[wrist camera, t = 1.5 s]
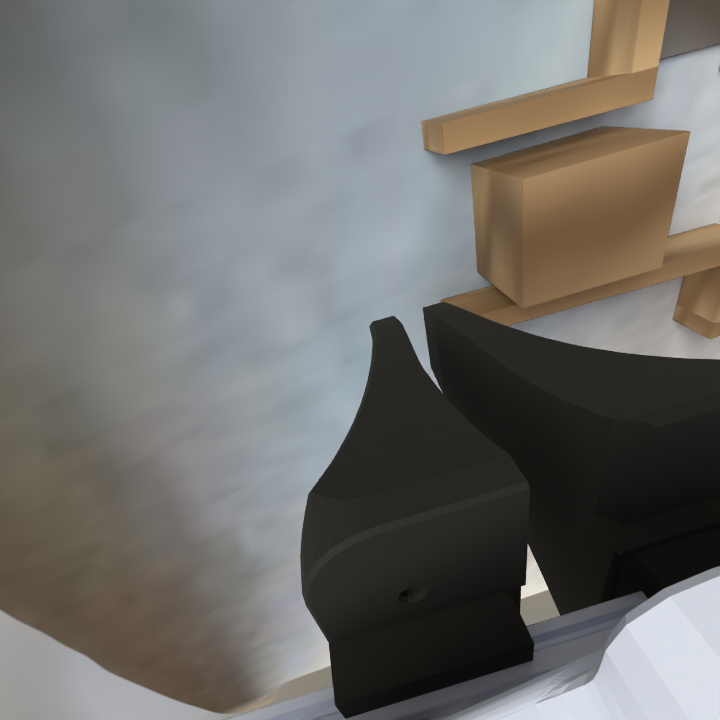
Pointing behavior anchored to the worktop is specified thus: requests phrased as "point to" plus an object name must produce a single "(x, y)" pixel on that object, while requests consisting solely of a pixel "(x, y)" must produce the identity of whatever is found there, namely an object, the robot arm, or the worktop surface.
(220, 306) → the worktop surface
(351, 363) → the worktop surface
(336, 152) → the worktop surface
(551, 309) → the trap lane
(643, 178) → the walnut block
